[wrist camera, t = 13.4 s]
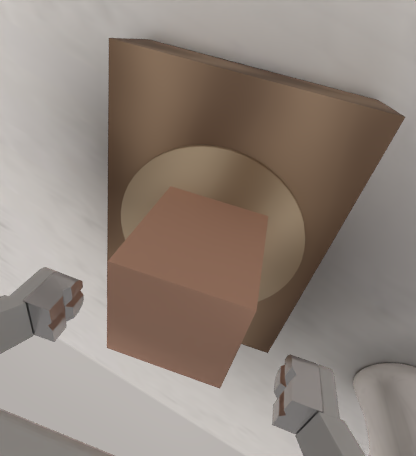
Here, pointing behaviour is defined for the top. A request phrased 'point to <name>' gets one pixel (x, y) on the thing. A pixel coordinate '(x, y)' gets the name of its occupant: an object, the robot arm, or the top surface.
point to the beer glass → (388, 407)
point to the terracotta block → (186, 285)
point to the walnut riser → (240, 156)
